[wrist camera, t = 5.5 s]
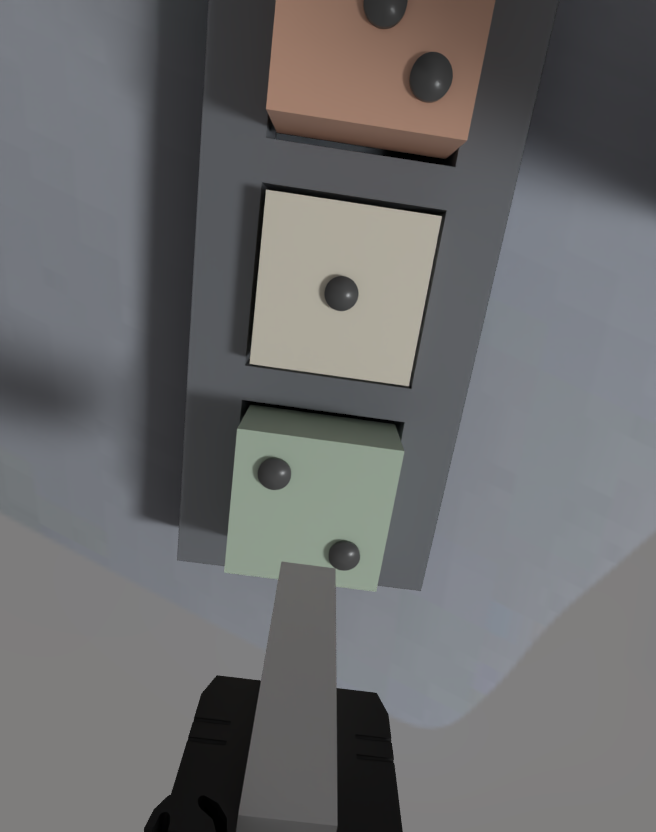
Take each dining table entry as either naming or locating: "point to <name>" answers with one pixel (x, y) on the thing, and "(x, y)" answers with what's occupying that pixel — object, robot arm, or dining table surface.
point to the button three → (378, 71)
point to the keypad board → (357, 183)
